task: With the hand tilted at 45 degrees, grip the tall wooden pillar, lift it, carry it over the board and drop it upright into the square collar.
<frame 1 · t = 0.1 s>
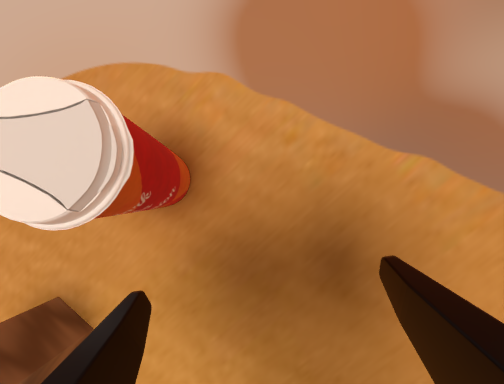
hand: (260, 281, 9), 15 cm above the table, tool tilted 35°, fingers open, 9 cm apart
tall wooden pillar: (60, 331, 25), on the table
paper cup: (165, 179, 25), on the table
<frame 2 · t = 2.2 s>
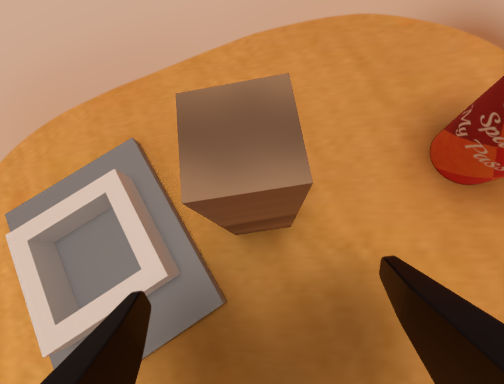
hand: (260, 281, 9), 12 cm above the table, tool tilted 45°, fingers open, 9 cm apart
socket board: (113, 254, 22), on the table
tall wooden pillar: (258, 203, 22), on the table
paper cup: (461, 157, 22), on the table
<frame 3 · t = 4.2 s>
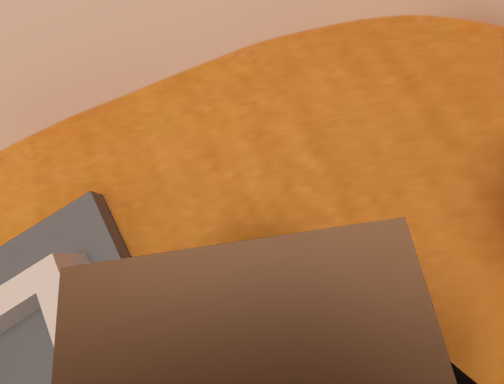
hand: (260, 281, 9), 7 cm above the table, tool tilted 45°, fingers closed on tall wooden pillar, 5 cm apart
socket board: (57, 368, 15), on the table
tall wooden pillar: (269, 293, 15), on the table, touching gripper
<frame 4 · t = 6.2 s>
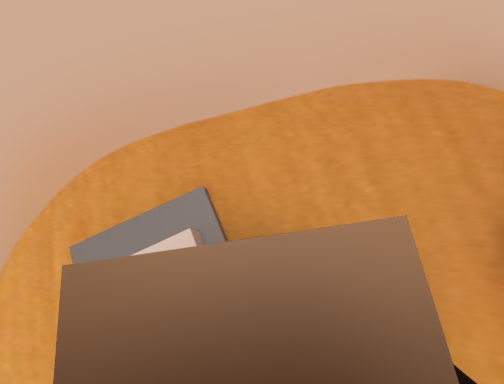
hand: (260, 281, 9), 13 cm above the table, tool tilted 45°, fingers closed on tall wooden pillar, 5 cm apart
socket board: (171, 307, 22), on the table
tall wooden pillar: (270, 293, 15), point 7 cm above the table, touching gripper
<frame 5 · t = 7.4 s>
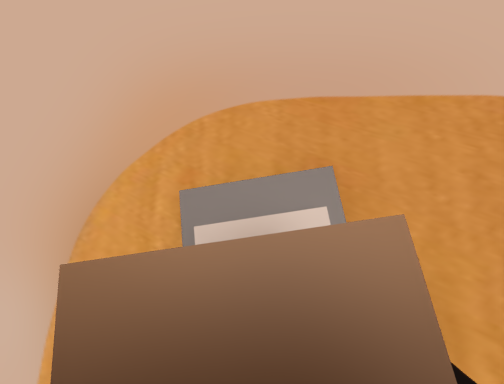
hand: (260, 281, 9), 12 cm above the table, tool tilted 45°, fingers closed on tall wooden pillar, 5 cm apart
socket board: (270, 282, 20), on the table
tall wooden pillar: (269, 292, 15), point 5 cm above the table, touching gripper
when the fingers open (10 cm above the table, at t = 8.2 s): tall wooden pillar drops 2 cm, resting on socket board.
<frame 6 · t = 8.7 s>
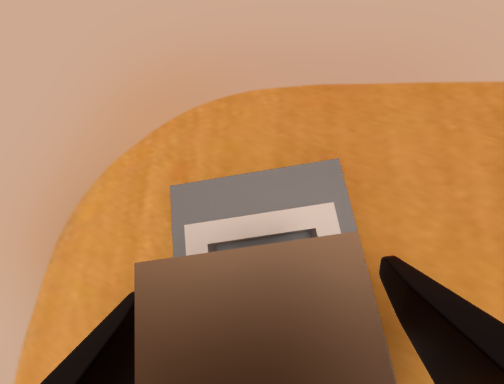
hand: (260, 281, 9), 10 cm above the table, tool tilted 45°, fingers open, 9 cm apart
socket board: (270, 287, 18), on the table
tall wooden pillar: (270, 289, 17), point 1 cm above the table, touching socket board
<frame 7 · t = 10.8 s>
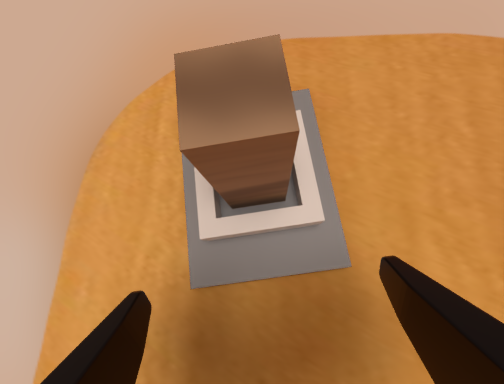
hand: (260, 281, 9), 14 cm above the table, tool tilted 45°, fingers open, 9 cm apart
socket board: (255, 183, 24), on the table
tall wooden pillar: (255, 179, 23), point 1 cm above the table, touching socket board
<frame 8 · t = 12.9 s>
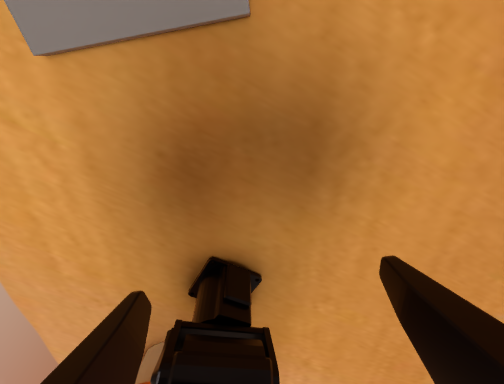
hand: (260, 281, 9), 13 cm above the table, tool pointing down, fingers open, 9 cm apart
reusable coffee cup: (176, 356, 36), on the table
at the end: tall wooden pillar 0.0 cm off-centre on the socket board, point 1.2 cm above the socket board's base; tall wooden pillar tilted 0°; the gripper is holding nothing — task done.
